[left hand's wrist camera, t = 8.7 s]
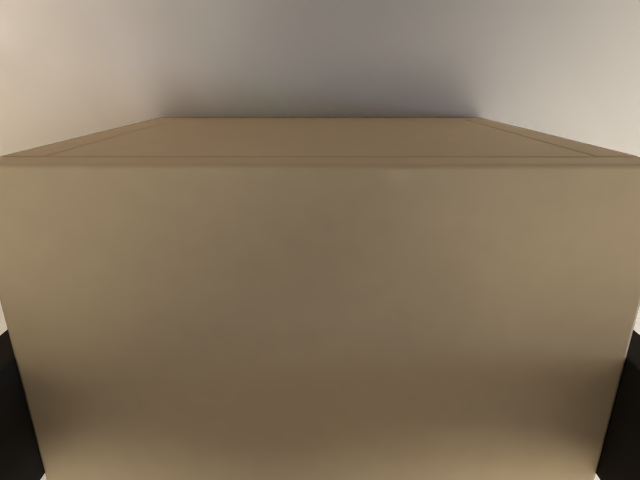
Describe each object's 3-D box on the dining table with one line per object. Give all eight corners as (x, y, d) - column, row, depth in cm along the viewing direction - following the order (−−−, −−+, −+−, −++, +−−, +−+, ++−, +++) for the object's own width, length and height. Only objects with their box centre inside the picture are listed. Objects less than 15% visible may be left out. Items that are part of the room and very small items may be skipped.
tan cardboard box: (438, 496, 21) (517, 776, 13) (201, 495, 21) (122, 775, 13) (482, 117, 16) (679, 165, 7) (158, 117, 16) (-38, 164, 7)
